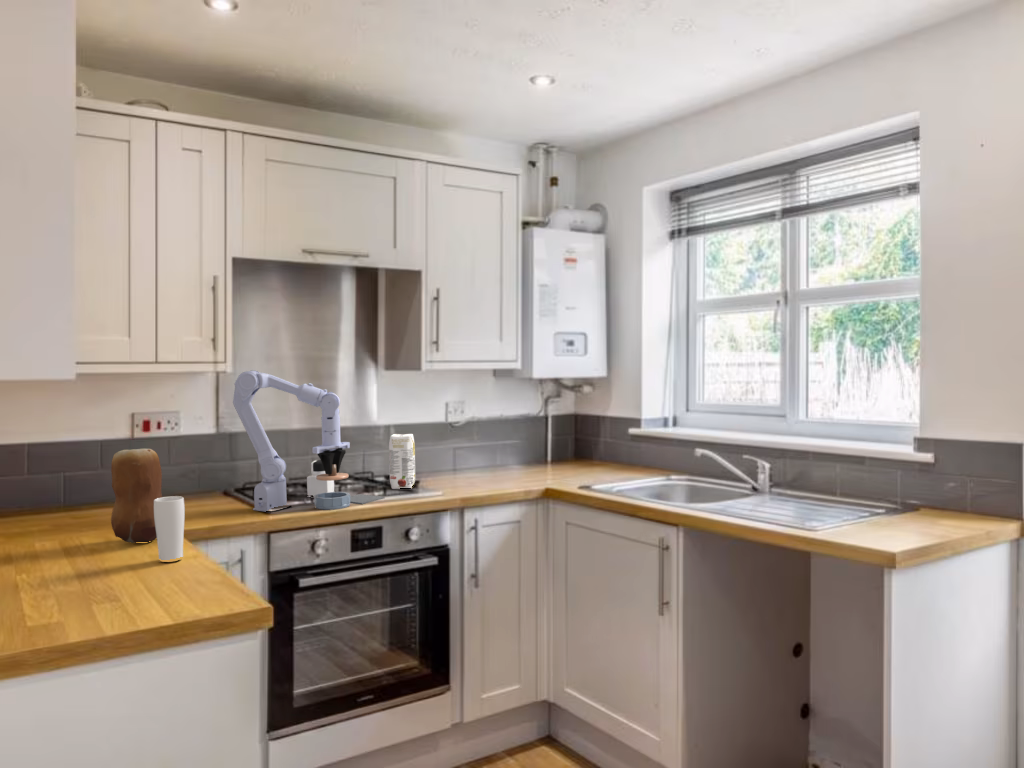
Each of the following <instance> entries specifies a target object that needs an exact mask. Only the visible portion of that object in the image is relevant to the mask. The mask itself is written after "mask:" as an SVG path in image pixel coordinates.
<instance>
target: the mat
mask: <svg viewBox="0 0 1024 768" xmlns="http://www.w3.org/2000/svg"><path fill="white" fill-rule="evenodd" d="M385 498H386V497H385V496H381V495H371V494H364V493H363V494H362V493H359V494H354V495H350V504H358V505H364V504H368V503H372V502H375V501H379V500H383V499H385Z"/></svg>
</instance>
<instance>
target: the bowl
mask: <svg viewBox="0 0 1024 768" xmlns="http://www.w3.org/2000/svg"><path fill="white" fill-rule="evenodd" d="M350 496H351V493H349V492H347V491H346V492H345V491H334V492H327V493H321V494H317V495H315V496H314V497H313V498H314V499H313V500H314V501H313V504H314V508H315V507H316V508H315V509H318V510H321V511H322V510H323V511H324V510H325V511H328V510H329V511H330V510H341V509H345V508H349V507H350V506H351V503H350Z"/></svg>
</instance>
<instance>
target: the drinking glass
mask: <svg viewBox="0 0 1024 768" xmlns="http://www.w3.org/2000/svg"><path fill="white" fill-rule="evenodd" d="M185 507H186V506H185V498H184V497H183V496H179V495H175V496H173V495H172V496H162V498H157V499H155V500H154V521H155V529H156V536H157V538H156V543H157V550H158V560H159V559H161V560H170V559H176V558H180V557H183V558H184V539H185V538H184V535H185V521H186V519H185V518H186V517H185V516H186V515H185V513H186V512H185V511H186V508H185Z"/></svg>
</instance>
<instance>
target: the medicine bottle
mask: <svg viewBox="0 0 1024 768" xmlns="http://www.w3.org/2000/svg"><path fill="white" fill-rule="evenodd" d="M310 469H311V470H310V472H311V474H310V475H308V476H307V477H306V489H307V495H313V496H315V495H317V494H321V493H327V492H335V480H331V481H322V480H317V479H316V476H317V475H321V474H326V473H325V470H324V466H323V464H322V461H321V459H315V460H313V461H312V462H311V463H310Z"/></svg>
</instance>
